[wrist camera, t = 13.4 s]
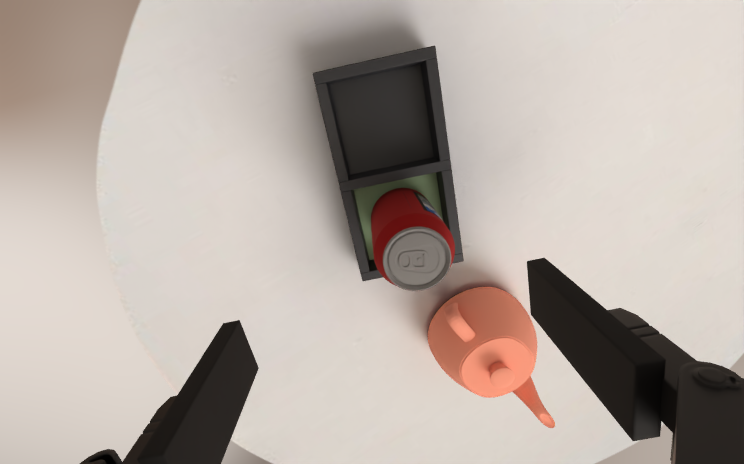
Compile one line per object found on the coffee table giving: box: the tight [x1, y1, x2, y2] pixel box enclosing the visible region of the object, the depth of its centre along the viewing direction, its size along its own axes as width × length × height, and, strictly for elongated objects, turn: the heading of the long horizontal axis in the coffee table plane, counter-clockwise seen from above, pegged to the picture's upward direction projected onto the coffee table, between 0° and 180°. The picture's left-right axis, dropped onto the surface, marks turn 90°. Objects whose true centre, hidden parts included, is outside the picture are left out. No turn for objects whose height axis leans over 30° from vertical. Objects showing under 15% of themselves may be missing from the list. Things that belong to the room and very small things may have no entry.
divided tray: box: [313, 46, 463, 281], centre depth 36 cm, size 21×11×4 cm, turn 12°
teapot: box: [428, 287, 555, 428], centre depth 41 cm, size 12×18×10 cm
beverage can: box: [371, 188, 455, 291], centre depth 33 cm, size 7×7×12 cm
